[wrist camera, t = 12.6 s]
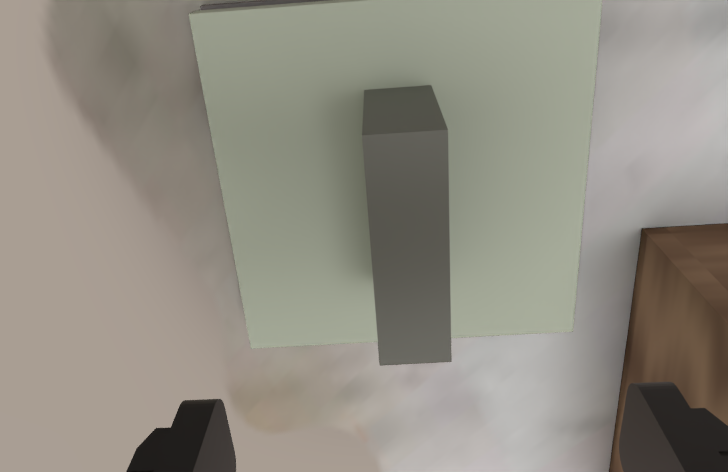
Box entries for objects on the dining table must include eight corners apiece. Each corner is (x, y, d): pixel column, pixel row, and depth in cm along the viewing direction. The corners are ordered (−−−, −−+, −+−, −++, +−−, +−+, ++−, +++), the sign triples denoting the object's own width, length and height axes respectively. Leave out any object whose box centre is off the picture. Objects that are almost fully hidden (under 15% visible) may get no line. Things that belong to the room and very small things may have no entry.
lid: (202, 7, 23) (133, 39, 16) (585, -22, 23) (676, -1, 16) (258, 322, 29) (224, 440, 23) (560, 306, 29) (617, 422, 22)
